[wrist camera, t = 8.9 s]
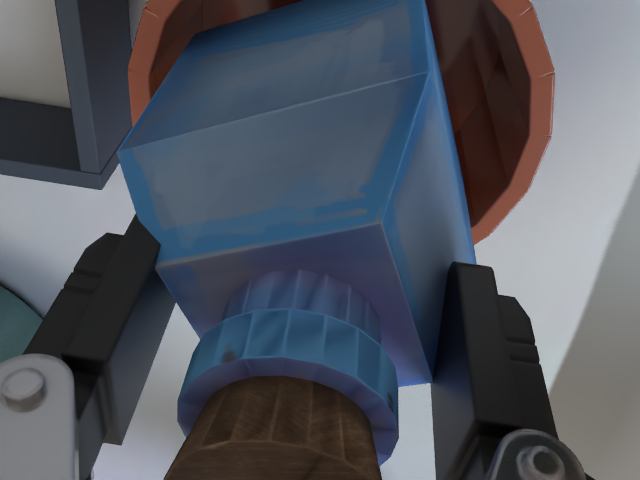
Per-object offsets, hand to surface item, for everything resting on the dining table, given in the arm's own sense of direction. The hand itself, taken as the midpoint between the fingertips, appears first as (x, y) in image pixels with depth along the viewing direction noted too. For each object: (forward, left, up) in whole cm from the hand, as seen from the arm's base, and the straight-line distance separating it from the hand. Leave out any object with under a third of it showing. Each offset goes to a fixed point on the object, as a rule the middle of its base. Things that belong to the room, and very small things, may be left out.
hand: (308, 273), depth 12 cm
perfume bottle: (0, 0, -7) cm, 7 cm away
